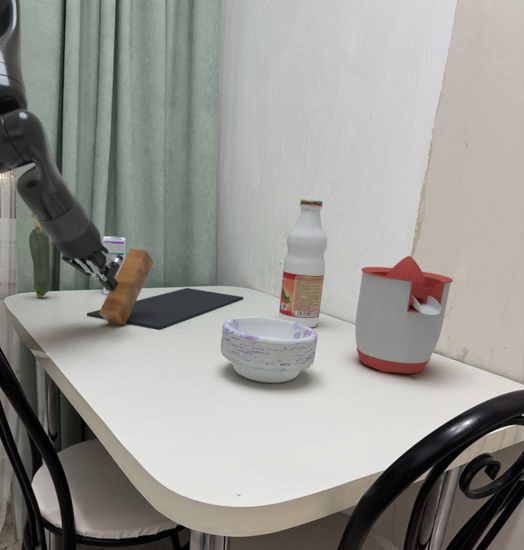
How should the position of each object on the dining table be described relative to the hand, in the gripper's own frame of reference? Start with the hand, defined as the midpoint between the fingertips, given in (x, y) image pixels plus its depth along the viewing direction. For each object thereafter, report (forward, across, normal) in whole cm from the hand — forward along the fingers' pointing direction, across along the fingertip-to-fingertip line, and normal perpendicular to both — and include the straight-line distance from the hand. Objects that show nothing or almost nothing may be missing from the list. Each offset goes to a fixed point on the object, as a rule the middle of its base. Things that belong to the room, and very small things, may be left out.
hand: (112, 287), depth 100 cm
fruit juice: (+26, -31, -15) cm, 43 cm away
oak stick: (+4, 0, +5) cm, 7 cm away
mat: (+23, 0, -12) cm, 26 cm away
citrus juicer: (+12, -55, 0) cm, 56 cm away
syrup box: (+25, +20, -14) cm, 35 cm away
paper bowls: (-1, -37, +12) cm, 39 cm away
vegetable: (+13, +28, -1) cm, 31 cm away
